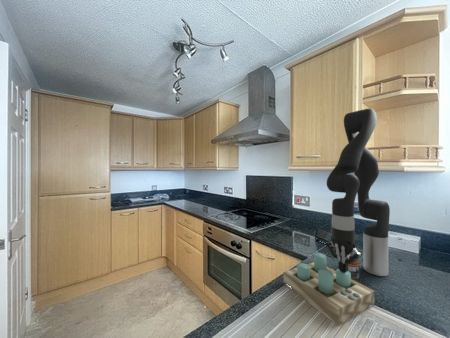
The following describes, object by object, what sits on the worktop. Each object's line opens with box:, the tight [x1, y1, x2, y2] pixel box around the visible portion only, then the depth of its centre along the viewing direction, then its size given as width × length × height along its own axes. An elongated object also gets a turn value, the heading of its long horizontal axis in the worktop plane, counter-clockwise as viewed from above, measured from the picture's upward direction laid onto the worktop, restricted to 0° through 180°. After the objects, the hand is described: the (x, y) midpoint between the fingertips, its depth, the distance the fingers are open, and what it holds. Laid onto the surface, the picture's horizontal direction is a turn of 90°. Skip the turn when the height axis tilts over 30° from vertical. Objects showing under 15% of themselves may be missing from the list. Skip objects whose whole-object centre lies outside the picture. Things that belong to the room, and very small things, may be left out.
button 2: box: [313, 252, 328, 271], centre depth 82 cm, size 5×5×6 cm
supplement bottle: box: [348, 252, 360, 283], centre depth 84 cm, size 6×6×11 cm
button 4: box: [335, 268, 351, 289], centre depth 73 cm, size 5×5×6 cm
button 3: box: [318, 269, 333, 294], centre depth 69 cm, size 5×5×6 cm
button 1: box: [296, 262, 310, 282], centre depth 78 cm, size 5×5×6 cm
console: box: [283, 261, 375, 326], centre depth 75 cm, size 20×24×5 cm
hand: (343, 271), depth 73 cm, fingers closed
